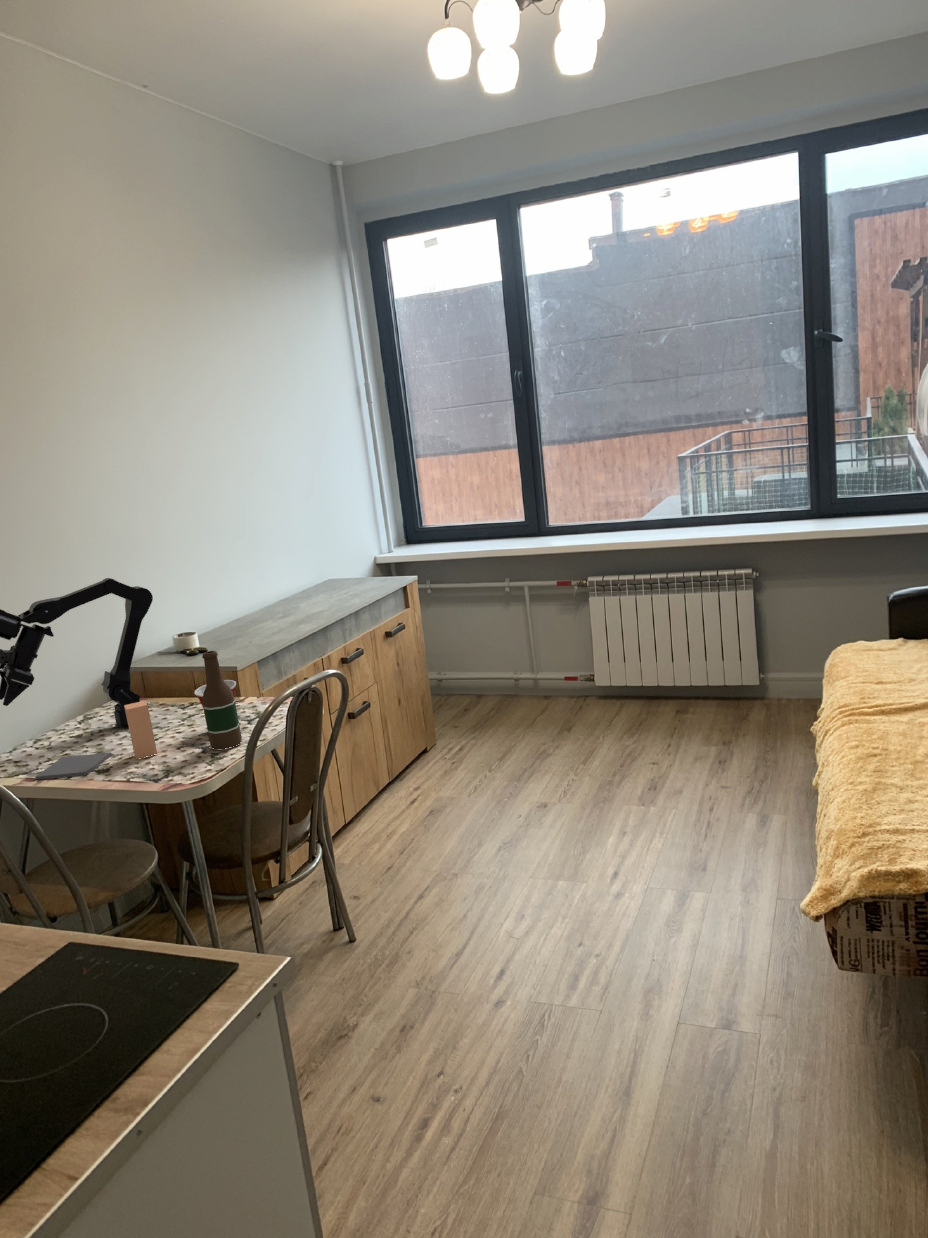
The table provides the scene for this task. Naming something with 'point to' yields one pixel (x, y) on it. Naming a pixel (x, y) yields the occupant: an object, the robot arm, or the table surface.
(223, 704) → the beer bottle
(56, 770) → the mat
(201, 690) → the plastic cup
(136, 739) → the block
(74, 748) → the table surface
